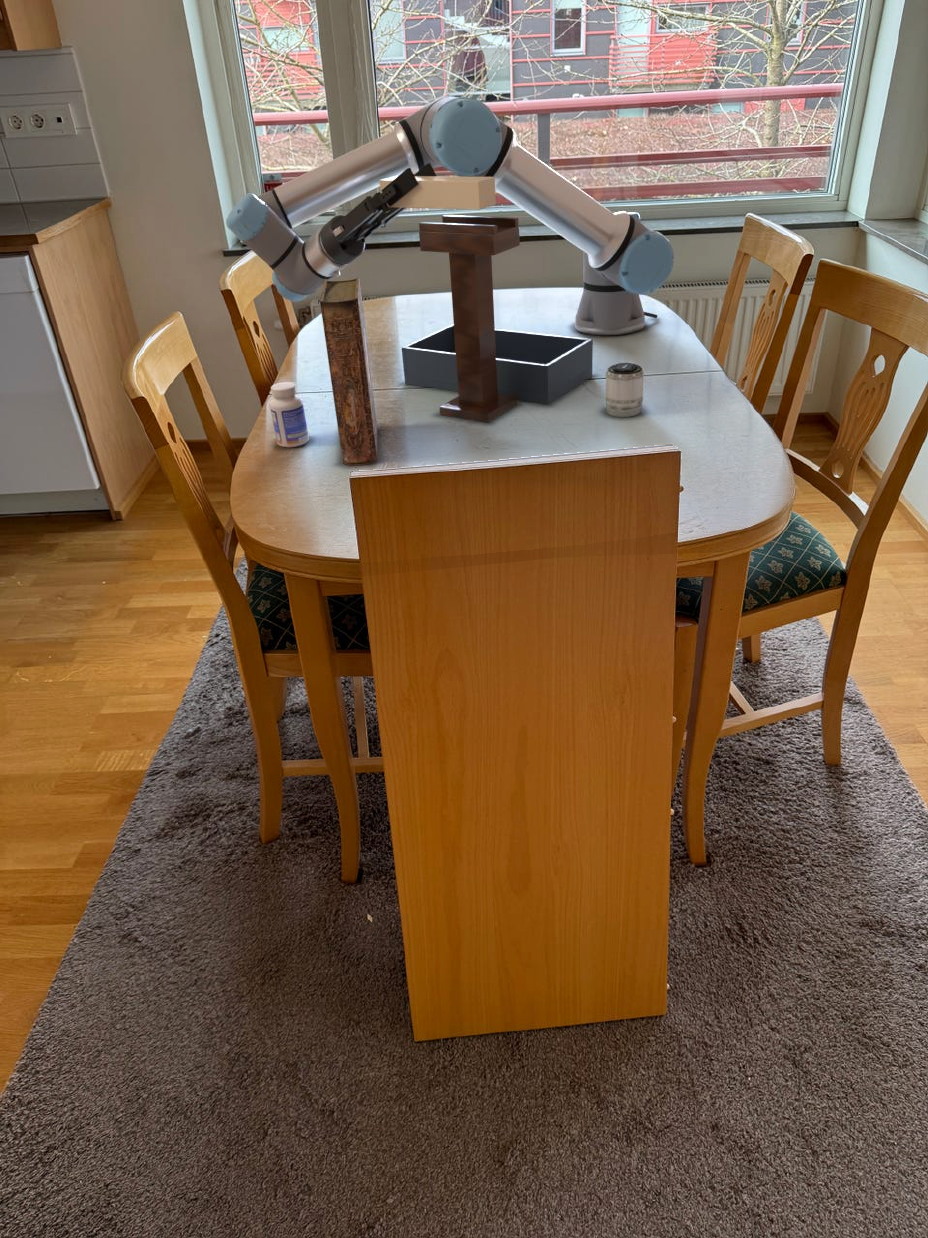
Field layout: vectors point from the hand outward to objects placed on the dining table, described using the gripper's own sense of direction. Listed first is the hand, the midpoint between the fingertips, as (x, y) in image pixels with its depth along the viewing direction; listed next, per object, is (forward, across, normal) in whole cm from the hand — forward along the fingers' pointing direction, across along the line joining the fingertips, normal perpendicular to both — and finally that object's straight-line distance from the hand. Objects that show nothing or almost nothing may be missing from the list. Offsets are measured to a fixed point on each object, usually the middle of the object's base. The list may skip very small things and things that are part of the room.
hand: (422, 173), depth 146 cm
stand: (-12, 0, -37) cm, 39 cm away
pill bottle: (-30, +26, -26) cm, 48 cm away
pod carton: (0, 0, -5) cm, 5 cm away
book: (-20, +22, -32) cm, 44 cm away
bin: (-17, -15, -34) cm, 41 cm away
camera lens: (+8, -9, -49) cm, 50 cm away
